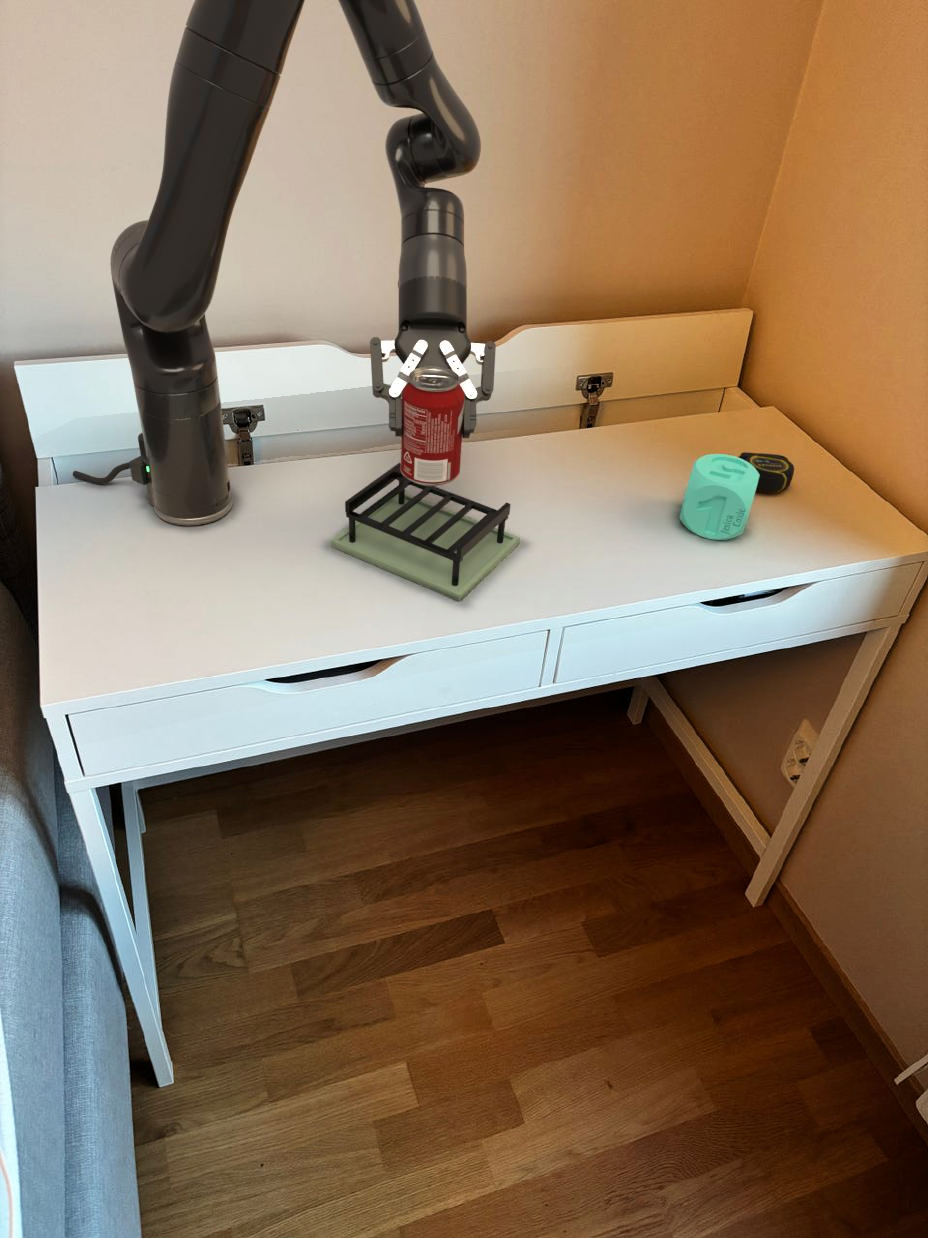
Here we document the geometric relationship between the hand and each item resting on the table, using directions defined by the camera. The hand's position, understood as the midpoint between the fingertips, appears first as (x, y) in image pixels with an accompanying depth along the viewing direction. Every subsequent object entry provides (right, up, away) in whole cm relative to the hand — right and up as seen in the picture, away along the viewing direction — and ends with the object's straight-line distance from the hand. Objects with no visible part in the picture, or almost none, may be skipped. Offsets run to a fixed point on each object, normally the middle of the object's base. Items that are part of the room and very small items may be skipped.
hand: (432, 435), depth 102 cm
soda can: (-1, -4, +5) cm, 6 cm away
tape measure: (+44, -1, +28) cm, 52 cm away
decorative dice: (+35, -8, +19) cm, 41 cm away
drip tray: (-1, -11, +11) cm, 16 cm away
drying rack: (-1, -11, +11) cm, 16 cm away
